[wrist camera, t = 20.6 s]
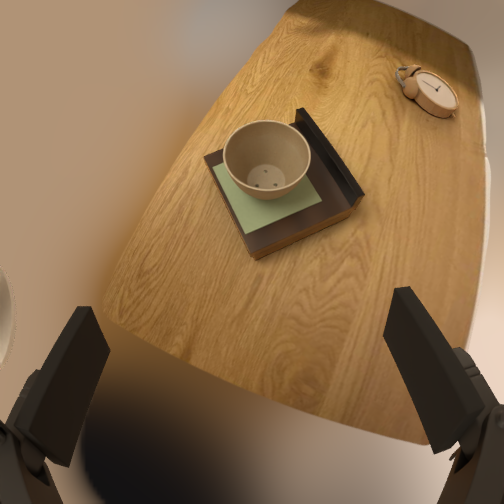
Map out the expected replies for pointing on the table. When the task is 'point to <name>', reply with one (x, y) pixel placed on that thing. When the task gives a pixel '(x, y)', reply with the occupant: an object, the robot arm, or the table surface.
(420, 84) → the alarm clock
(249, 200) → the tray
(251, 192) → the flower pot
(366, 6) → the table surface
